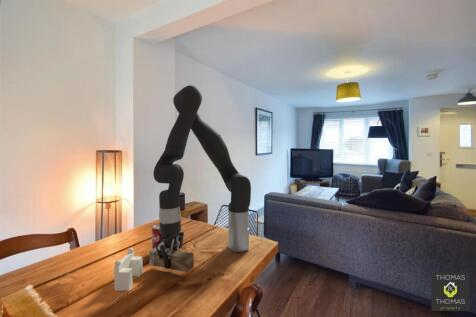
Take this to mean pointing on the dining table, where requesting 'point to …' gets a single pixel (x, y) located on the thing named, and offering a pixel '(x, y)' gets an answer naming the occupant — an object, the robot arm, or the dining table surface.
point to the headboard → (127, 270)
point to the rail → (173, 260)
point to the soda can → (156, 236)
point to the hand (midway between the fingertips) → (171, 264)
